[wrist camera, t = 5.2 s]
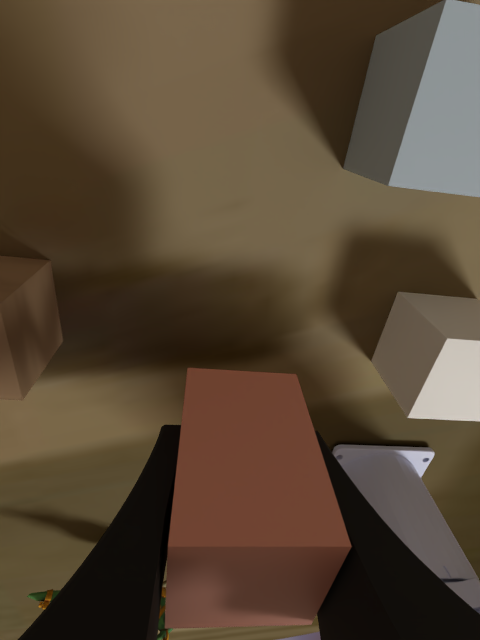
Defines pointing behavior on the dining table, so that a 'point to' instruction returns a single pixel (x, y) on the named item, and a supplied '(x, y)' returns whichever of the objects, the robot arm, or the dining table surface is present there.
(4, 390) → the walnut block
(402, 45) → the blue-grey block
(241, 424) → the brick-red block
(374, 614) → the robot arm
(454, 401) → the pale grey block
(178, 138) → the dining table surface
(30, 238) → the dining table surface
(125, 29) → the dining table surface
